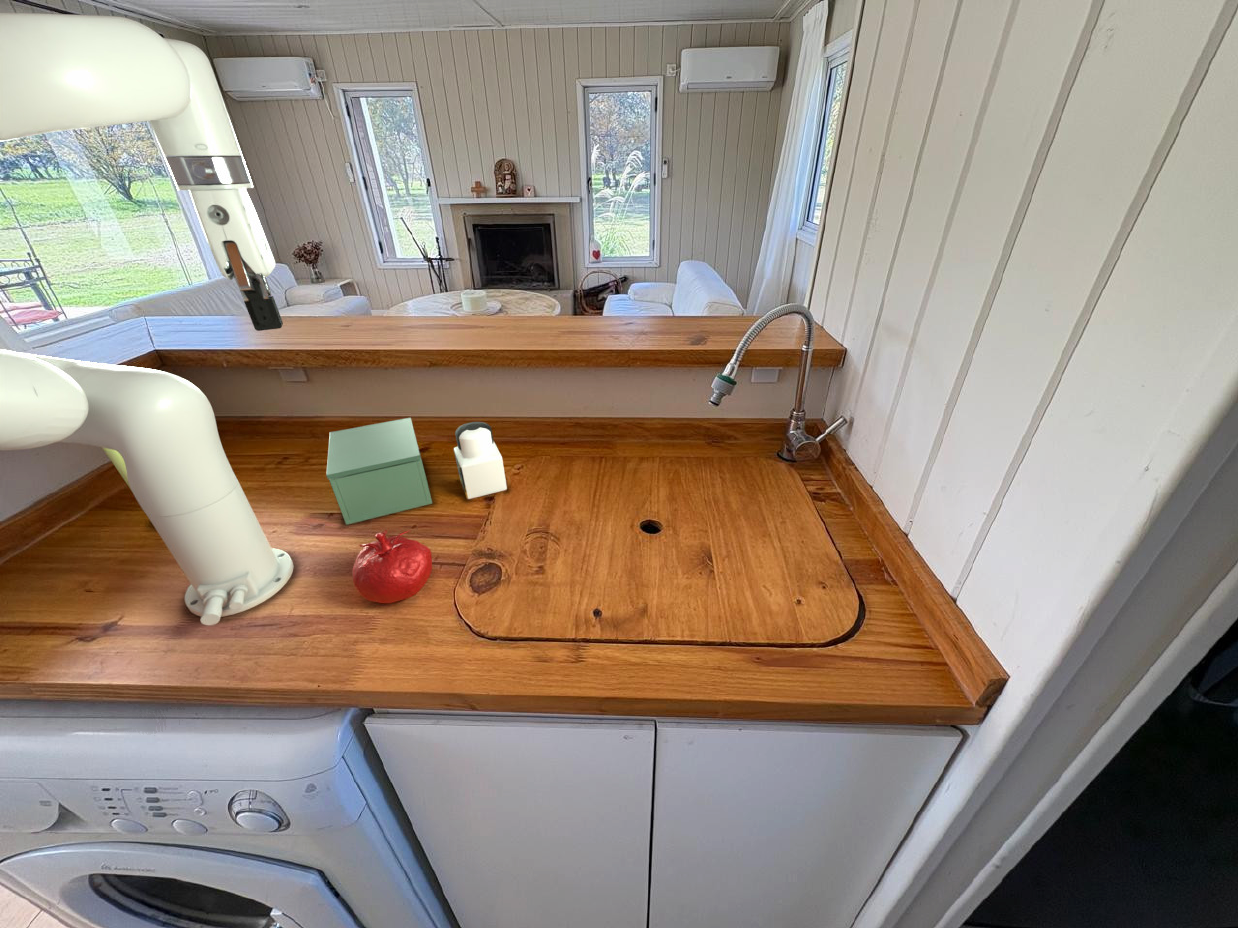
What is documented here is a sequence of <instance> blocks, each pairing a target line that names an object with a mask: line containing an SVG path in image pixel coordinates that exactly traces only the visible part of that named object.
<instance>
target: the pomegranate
mask: <svg viewBox="0 0 1238 928" xmlns="http://www.w3.org/2000/svg"><path fill="white" fill-rule="evenodd" d="M408 532H411V529H410V530H406V531H403V532H401V533H399V534H398V535H390V536H387V535H386V534H387V533H388V531H387V530H386V529H385V530H384V531H382V533H381V532H378V533H375V534H374V537H375V539H376V540H374V541H372V542H367V543H363V544H358V546H359V547H360V548H362V549H361V550H360V552H359V553H358V555H357V556H356V558H355V561H354V564H353V566H352V571H351V572H352V582H353V585H354V587H355V588H356V590H357V592H358V593H359V594H360V595H361V597H362V598H363V599H365V600H366V601H369V602H373V603H374V602H375V603H378V604H392V603H397V602H400V601H403V600H407V599H410V598H412V597H413V596H415V595H417V594H418V593H419V592H420V591H421V590H422V589H423V587H424V586H425V585H426V584H427V582H428V580H429V578H430V577H431V574H432V570H433V557H432V551H431V548H430V547H428V546H426V545H425V544H422V543H421V542H419V541H418V540H415V539H410V538H407V537H404V536H402V535H405V534H406V533H408Z"/></svg>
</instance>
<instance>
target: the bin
mask: <svg viewBox="0 0 1238 928" xmlns="http://www.w3.org/2000/svg"><path fill="white" fill-rule="evenodd" d="M328 480H329V484H330V486H331V488H332V491H333V494H334V497H335V500H336V502H337V504H338V507H339V509H340V510H339V511H340V513H341V515H342V518H343V520H344V523H345V525H346V526H348V525H351V524H356V523H359V522H364V521H367V520H372V519H376V518H379V517H383V516H388V515H392V514H397V513H399V512H404V511H408V510H412V509H416V508H420V507H424V506H428V505H432V504H433V500H432V497H431V496H432V495H431V492H430V491H431V490H430V488H429V484H428V479H427V476H426V472H425V468H424V464H423V460H422V458H421V459H420V460H416V461H411V462H407V463H402V464H397V465H393V466H388V467H383V468H379V469H374V470H370V471H365V472H360V473H356V474H351V475H346V476H342V477H337V478H333V479H328Z"/></svg>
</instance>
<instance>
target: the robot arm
mask: <svg viewBox="0 0 1238 928" xmlns="http://www.w3.org/2000/svg"><path fill="white" fill-rule="evenodd" d="M144 122H149V124H150V127H151V129H152V130H153V131H152V132H153V133H154V136H155V139H156V141H157V143H158V145H159V148H160V150H161V153H162V156H163V157H164V160H165V162H166V165H167V167H168V170H169V172H170V175H171V176H172V179H173V181H174V184H175V186H176V189H177V191H189V195H190V197H191V201H192V203H193V206H194V211H195V212H196V215H197V218H198V220H199V223H200V226H201V229H202V231H203V234H204V236H205V239H206V242H207V244H208V246H209V249H210V252H211V254H212V256H213V259H214V261H215V263H216V265H217V267H218V270H219V272H220V274H221V275H222V276H223V278H225V279H227V280H230V281H232V280H233V279H234V281H235V283H236V285H237V288H238V290H239V292H240V294H241V297H242V299H243V303H244V306H245V308H246V310H247V314H248V315H249V318H250V321H251V324H252V325H253V328H254V330H255V331H257V332H261V331H262V332H263V331H269V330H271V331H272V330H278V329H282V327H283V325H284V322H283V318H282V316H281V314H280V311H279V308H278V305H277V303H276V300H275V298H274V296H273V295H272V291H271V289H270V286H269V282H268V280H267V278H268V277H269V276H270V275H271V274H272V272H273V270H275V267H276V260H275V258H274V255H273V253H272V250H271V247H270V244H269V242H268V240H267V237H266V235H265V232H264V229H263V226H262V225H261V221H260V219H259V217H258V214H257V212H256V209H255V207H254V204H253V202H252V200H251V198H250V196H249V193H248V191H247V189H253V188H254V185H253V182H252V179H251V176H250V173H249V169H248V167H247V165H246V161H245V159H244V156H243V153H242V150H241V147H240V144H239V142H238V139H237V135H236V133H235V130H234V126H233V124H232V122H231V119H230V115H229V113H228V109H227V107H226V104H225V101H224V98H223V96H222V92H221V89H220V87H219V84H218V81H217V78H216V74H215V72H214V69H213V67H212V65H211V62H210V60H209V58H208V56H207V54H206V53H205V52H204V51H203V50H202V49H201V48H200V47H198V46H197V45H195V44H193V43H190V42H187V41H183V40H180V39H179V40H178V39H173V38H166V37H163V36H161V34H159V33H158V32H156V31H155V30H153V29H151V28H150V27H148V26H147V25H145V24H143V23H142V22H139V21H137V20H134V19H131V18H129V17H123V16H117V15H97V14H71V13H70V14H67V13H66V14H65V13H38V12H37V13H34V12H32V13H31V12H0V143H1V142H7V141H12V140H16V139H22V138H27V137H31V136H37V135H44V134H49V133H56V132H57V133H58V132H64V131H65V132H66V131H74V130H81V129H83V130H84V129H92V128H100V127H109V126H119V125H127V124H136V123H144ZM54 443H64V444H66V443H67V444H81V445H87V446H93V447H98V448H99V447H100V448H102V447H104V448H107V449H112V450H116V451H117V452H119V453H120V455H121V456H122V458H123V460H124V462H125V465H126V470H127V477H128V482H129V485H130V488H131V489H130V488H129V489H130V491H131V490H132V491H131V493H132V494H133V496H134V498H135V500H136V501H137V503H138V505H139V507H141V509H142V511H143V512H144V513H145V515H146V516H147V518H148V520H149V521H150V522H151V524H152V525H153V527H154V529H155V530H156V532H157V534H158V535H159V537H160V538H161V539H162V542H163V543H164V545H165V546H166V548H167V549H168V551H169V552H170V554H171V555H172V557H173V558H174V560H175V562H176V563H177V565H178V567H179V568H180V569H181V571H182V573H183V574H184V575H185V577H186V578H187V580H188V582H189V583H190V584H189V585H188V587H187V588H186V591H185V593H184V604H185V606H186V607H187V608H188V610H189V611H190V612H191V614H193V615H195V616H198V617H200V620H199V622H200V623H201V624H202V625H204V626H215V625H217V624H218V623H219V622H220V620H221V618H223V617H224V618H225V617H228V616H233V615H236V614H239V613H242V612H246V611H247V610H250V609H252V608H255V607H257V606H258V605H261V604H263V603H265V602H266V601H267V600H269V599H271V598H272V597H274V595H276V594H277V593H278V592H279V591H280V590H281V589H283V587H285V585H287V584H288V582H289V580H290V579H291V577H292V576H293V575H292V574H293V572H294V562H293V560H292V558H291V556H290V555H289V554H288V553H287V552H286V551H284V550H282V549H279V548H274V547H272V546H271V544H270V542H269V540H268V538H267V536H266V534H265V532H264V530H263V528H262V526H261V523H260V522H259V520H258V517H257V516H256V514H255V512H254V510H253V508H252V505H251V504H250V502H249V500H248V498H247V496H246V494H245V491H244V490H243V488H242V486H241V483H240V482H239V480H238V478H237V476H236V474H235V472H234V470H233V468H232V465H231V464H230V462H229V459H228V457H227V455H226V453H225V450H224V448H223V445H222V441H221V438H220V435H219V431H218V426H217V421H216V416H215V413H214V410H213V407H212V405H211V402H210V400H209V399H208V398H207V396H206V395H205V393H204V392H203V391H202V390H201V389H200V388H199V387H197V386H196V385H195V384H193V383H192V382H190V380H187V379H185V378H183V377H181V376H179V375H176V374H173V373H170V372H167V371H162V370H158V369H152V368H147V367H146V368H145V367H137V366H130V365H129V366H127V365H116V364H109V363H100V362H99V363H97V362H92V361H91V362H90V361H83V360H82V361H81V360H75V359H68V358H67V359H66V358H59V357H52V356H46V355H40V354H39V355H37V354H31V353H25V352H16V351H12V350H7V349H1V348H0V452H1V451H2V452H3V451H4V452H11V451H24V450H31V449H36V448H42V447H45V446H48V445H51V444H54Z"/></svg>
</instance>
